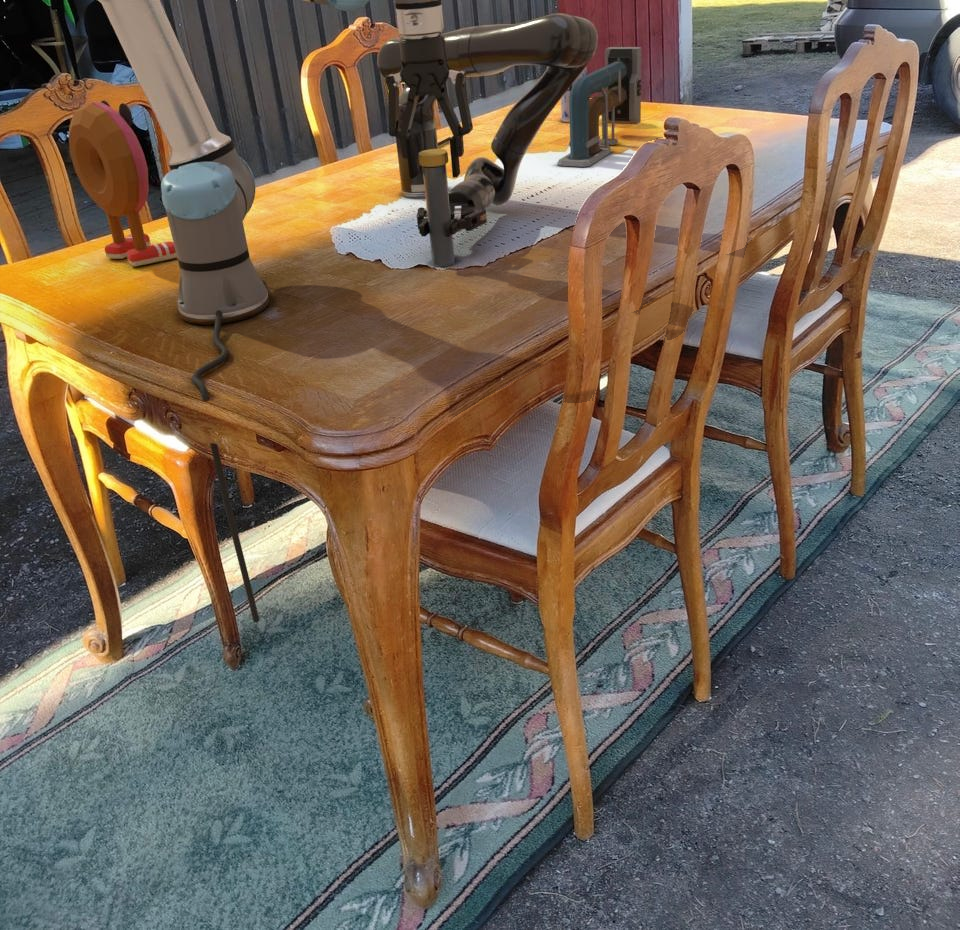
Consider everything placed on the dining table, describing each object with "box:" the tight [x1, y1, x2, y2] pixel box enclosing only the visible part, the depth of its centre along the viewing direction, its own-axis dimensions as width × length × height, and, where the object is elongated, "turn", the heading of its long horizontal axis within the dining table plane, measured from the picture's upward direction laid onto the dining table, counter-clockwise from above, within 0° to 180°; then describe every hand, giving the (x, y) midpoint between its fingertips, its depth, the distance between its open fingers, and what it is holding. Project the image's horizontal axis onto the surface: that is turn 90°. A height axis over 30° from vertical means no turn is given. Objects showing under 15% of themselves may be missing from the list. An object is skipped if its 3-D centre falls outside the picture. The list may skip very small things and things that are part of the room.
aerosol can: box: [560, 65, 588, 123], centre depth 273 cm, size 8×8×20 cm
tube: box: [422, 164, 456, 267], centre depth 174 cm, size 4×4×19 cm
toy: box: [68, 100, 177, 267], centre depth 187 cm, size 21×10×30 cm, turn 47°
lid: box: [418, 148, 449, 167], centre depth 169 cm, size 5×5×2 cm
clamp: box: [556, 46, 642, 168], centre depth 239 cm, size 35×9×21 cm, turn 151°
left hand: (435, 175), depth 170 cm, fingers open, 7 cm apart
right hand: (435, 231), depth 173 cm, fingers closed on tube, 4 cm apart
